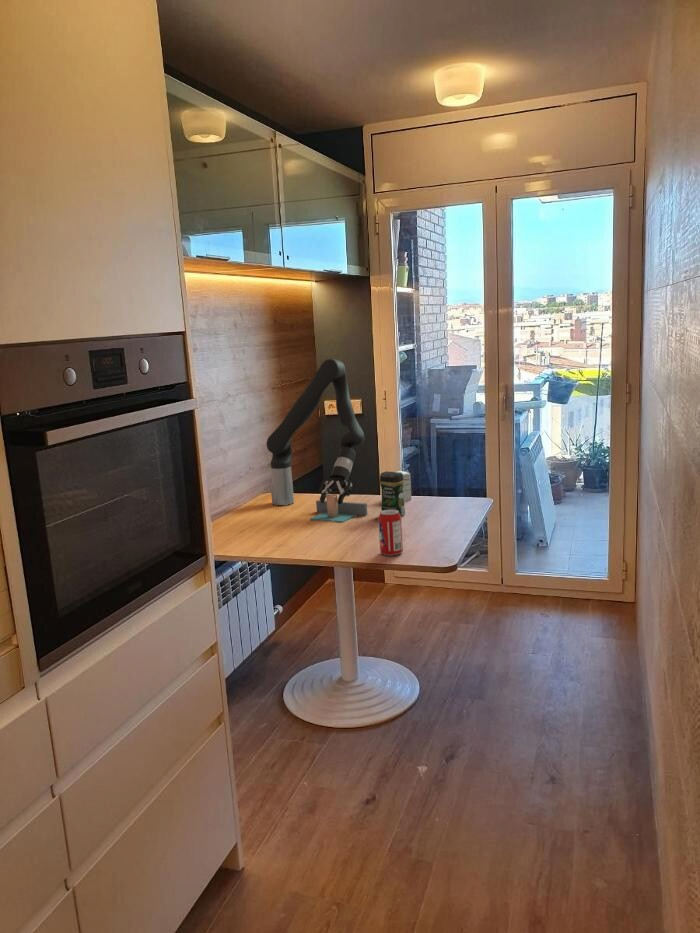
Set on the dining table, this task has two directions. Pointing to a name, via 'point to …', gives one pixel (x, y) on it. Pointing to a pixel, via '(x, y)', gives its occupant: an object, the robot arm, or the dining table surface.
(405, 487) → the supplement box
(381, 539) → the soda can
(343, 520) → the teal mat
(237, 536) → the dining table surface
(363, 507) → the low wall
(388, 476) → the coffee jar
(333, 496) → the tan domed capsule
